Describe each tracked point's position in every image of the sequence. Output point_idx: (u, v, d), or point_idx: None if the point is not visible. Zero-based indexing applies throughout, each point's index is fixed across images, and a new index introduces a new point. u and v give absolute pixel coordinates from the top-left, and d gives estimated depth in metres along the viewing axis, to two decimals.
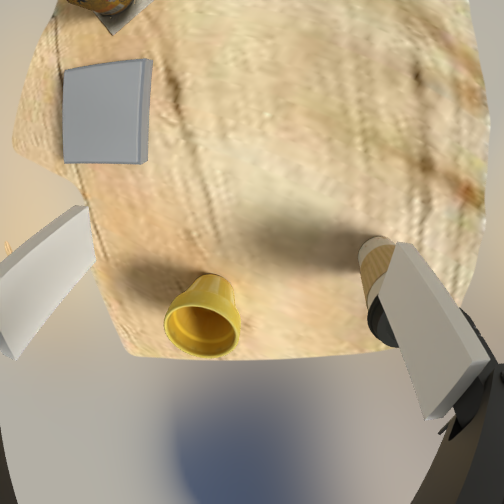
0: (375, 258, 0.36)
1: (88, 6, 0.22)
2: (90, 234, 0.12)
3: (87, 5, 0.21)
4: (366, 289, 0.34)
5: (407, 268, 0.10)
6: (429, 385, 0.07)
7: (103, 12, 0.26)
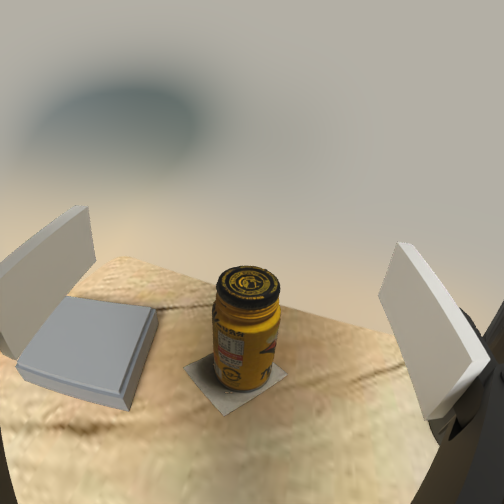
0: None
1: None
2: (91, 234, 0.12)
3: (212, 321, 0.27)
4: None
5: (407, 268, 0.10)
6: (429, 385, 0.07)
7: None
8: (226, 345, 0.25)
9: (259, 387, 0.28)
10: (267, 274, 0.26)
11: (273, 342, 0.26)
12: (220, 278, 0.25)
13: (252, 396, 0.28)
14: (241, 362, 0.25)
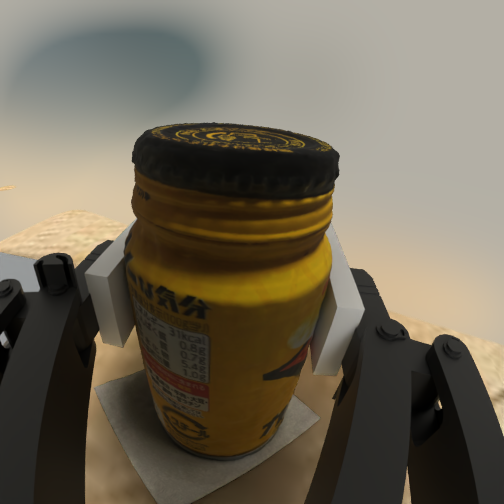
0: None
1: None
2: None
3: None
4: None
5: None
6: (316, 338, 0.09)
7: None
8: (156, 348, 0.07)
9: (255, 450, 0.11)
10: (293, 134, 0.08)
11: (305, 346, 0.09)
12: (153, 129, 0.07)
13: (238, 470, 0.10)
14: (206, 402, 0.08)
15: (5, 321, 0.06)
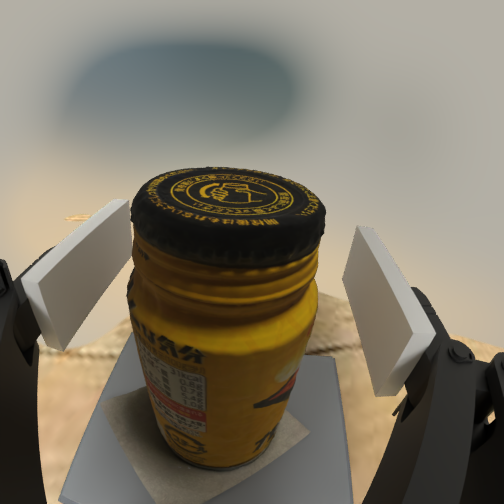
0: None
1: None
2: (129, 227, 0.13)
3: None
4: None
5: (363, 250, 0.11)
6: (379, 360, 0.08)
7: None
8: (159, 380, 0.08)
9: (249, 462, 0.12)
10: (284, 182, 0.09)
11: (292, 377, 0.09)
12: (149, 181, 0.08)
13: (233, 480, 0.11)
14: (204, 425, 0.09)
15: None
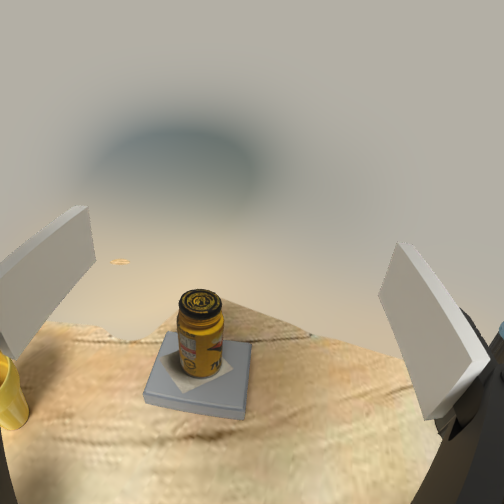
0: None
1: None
2: (90, 234, 0.12)
3: None
4: None
5: (407, 268, 0.10)
6: (429, 385, 0.07)
7: None
8: (184, 343, 0.36)
9: (210, 376, 0.39)
10: (214, 296, 0.37)
11: (218, 343, 0.37)
12: (181, 297, 0.36)
13: (205, 381, 0.39)
14: (195, 355, 0.36)
15: None
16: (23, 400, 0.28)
